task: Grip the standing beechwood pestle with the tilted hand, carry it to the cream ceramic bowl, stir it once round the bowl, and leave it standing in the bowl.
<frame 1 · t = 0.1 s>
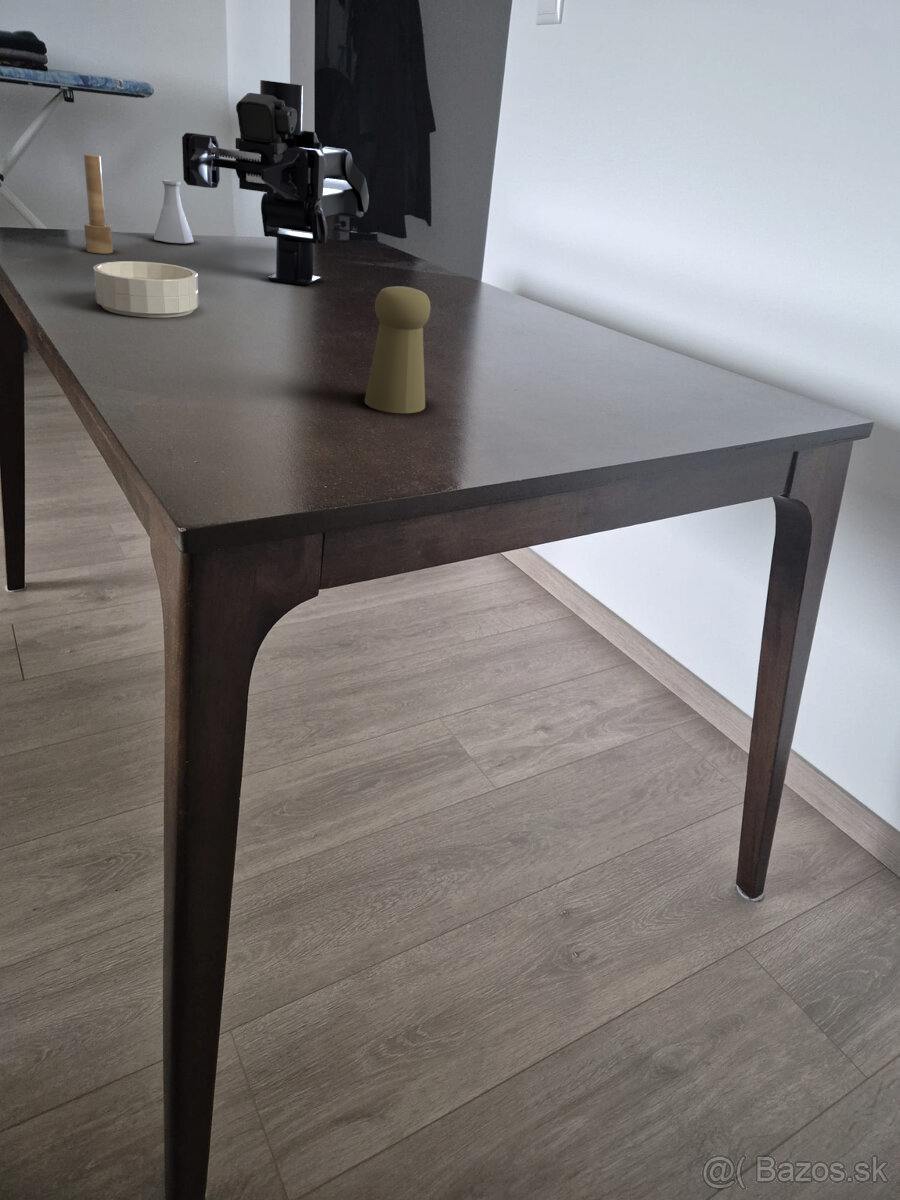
hand: (226, 169, 107), 17 cm above the table, tool horizontal, fingers open, 9 cm apart
cork: (394, 405, 86), on the table
pestle: (99, 251, 141), on the table
flask: (174, 242, 158), on the table
bowl: (148, 307, 110), on the table
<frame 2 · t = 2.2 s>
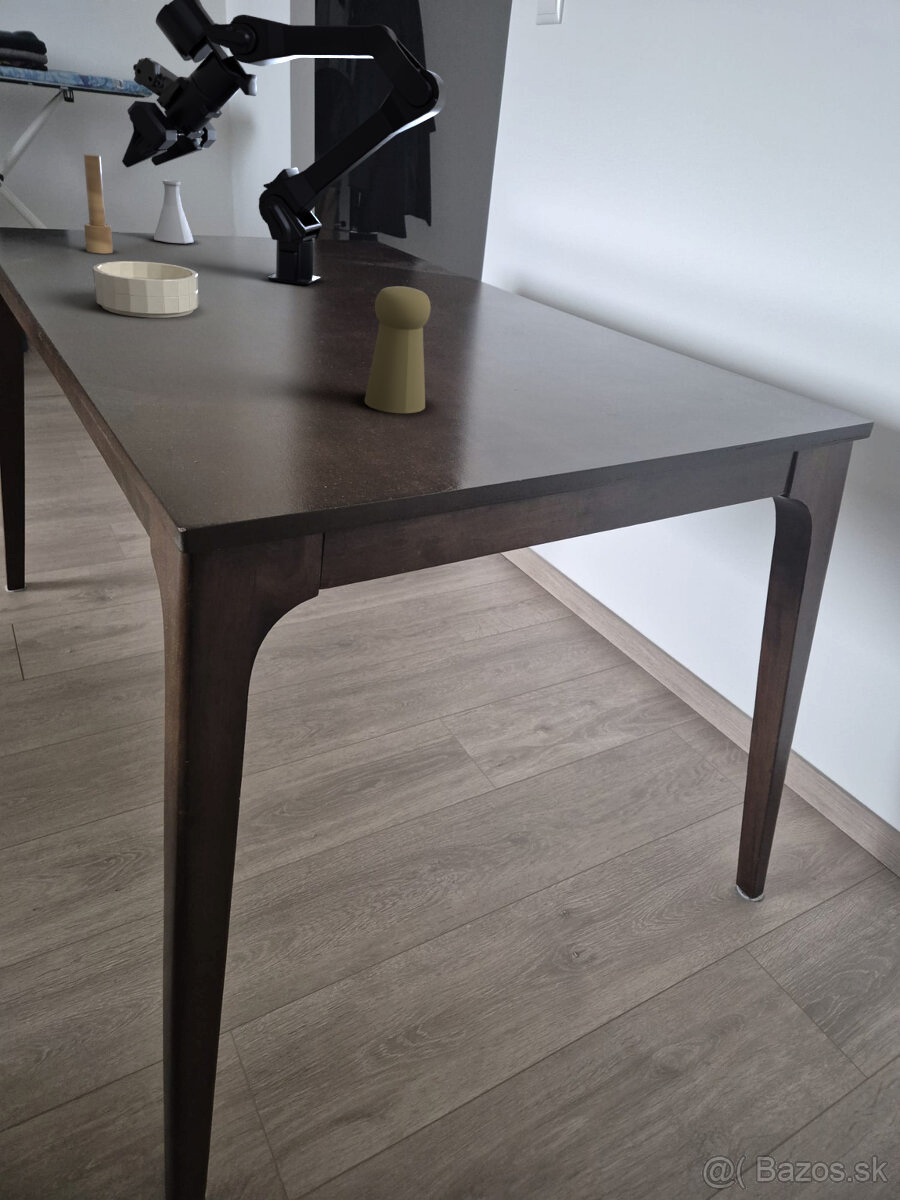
hand: (139, 163, 133), 14 cm above the table, tool tilted 45°, fingers open, 9 cm apart
nothing on the table moved.
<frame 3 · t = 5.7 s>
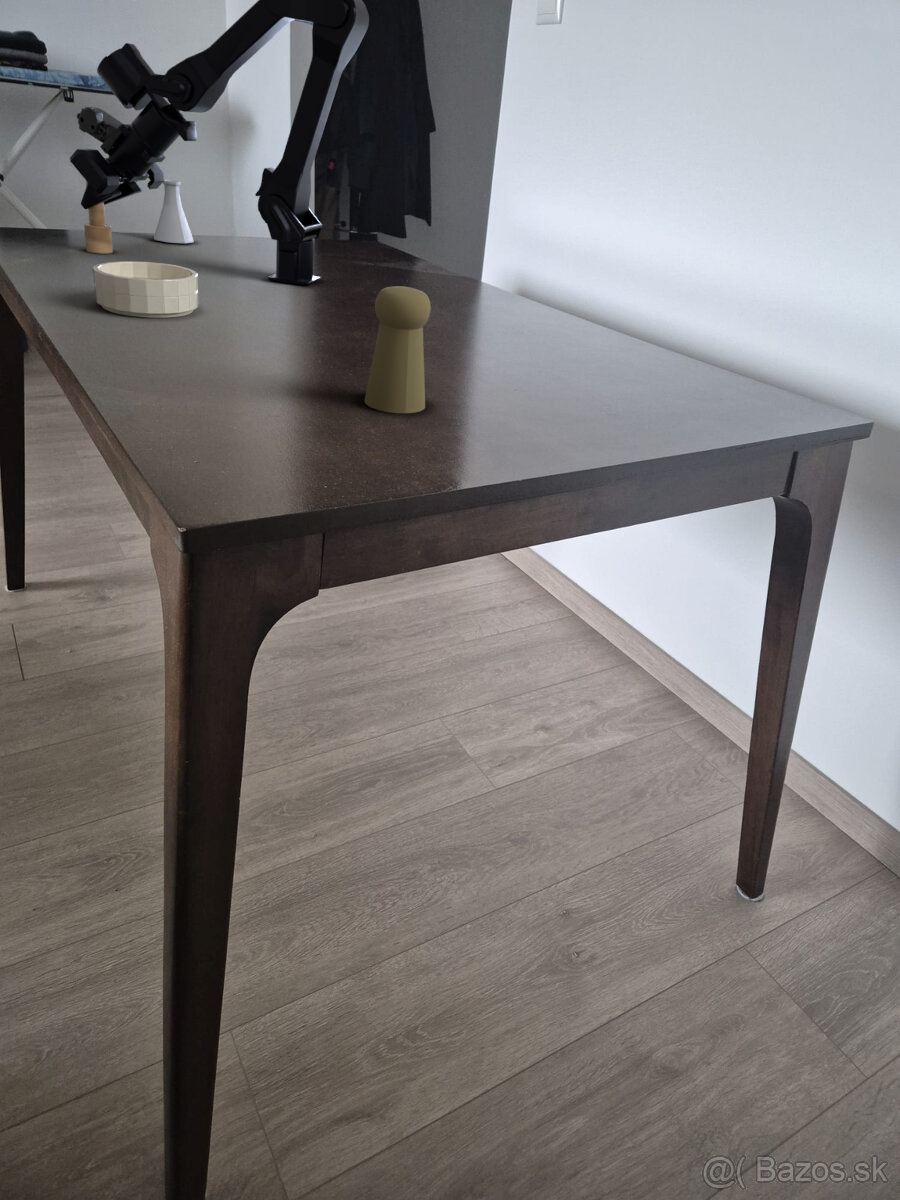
hand: (88, 206, 138), 7 cm above the table, tool tilted 45°, fingers closed on pestle, 2 cm apart
pestle: (99, 251, 141), on the table, touching gripper
everything else where it was.
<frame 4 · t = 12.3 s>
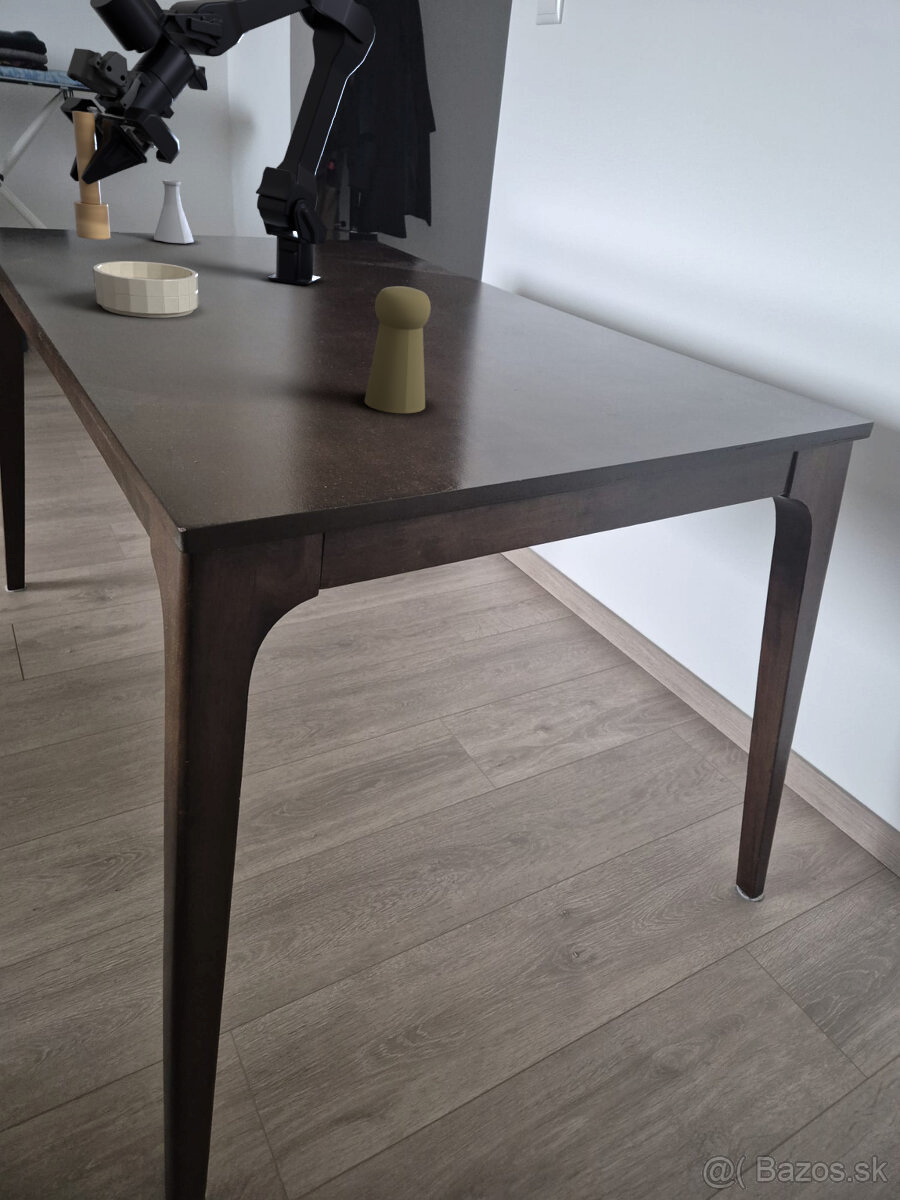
hand: (78, 179, 107), 13 cm above the table, tool tilted 45°, fingers closed on pestle, 2 cm apart
pestle: (93, 236, 111), point 7 cm above the table, touching gripper
everything else where it was.
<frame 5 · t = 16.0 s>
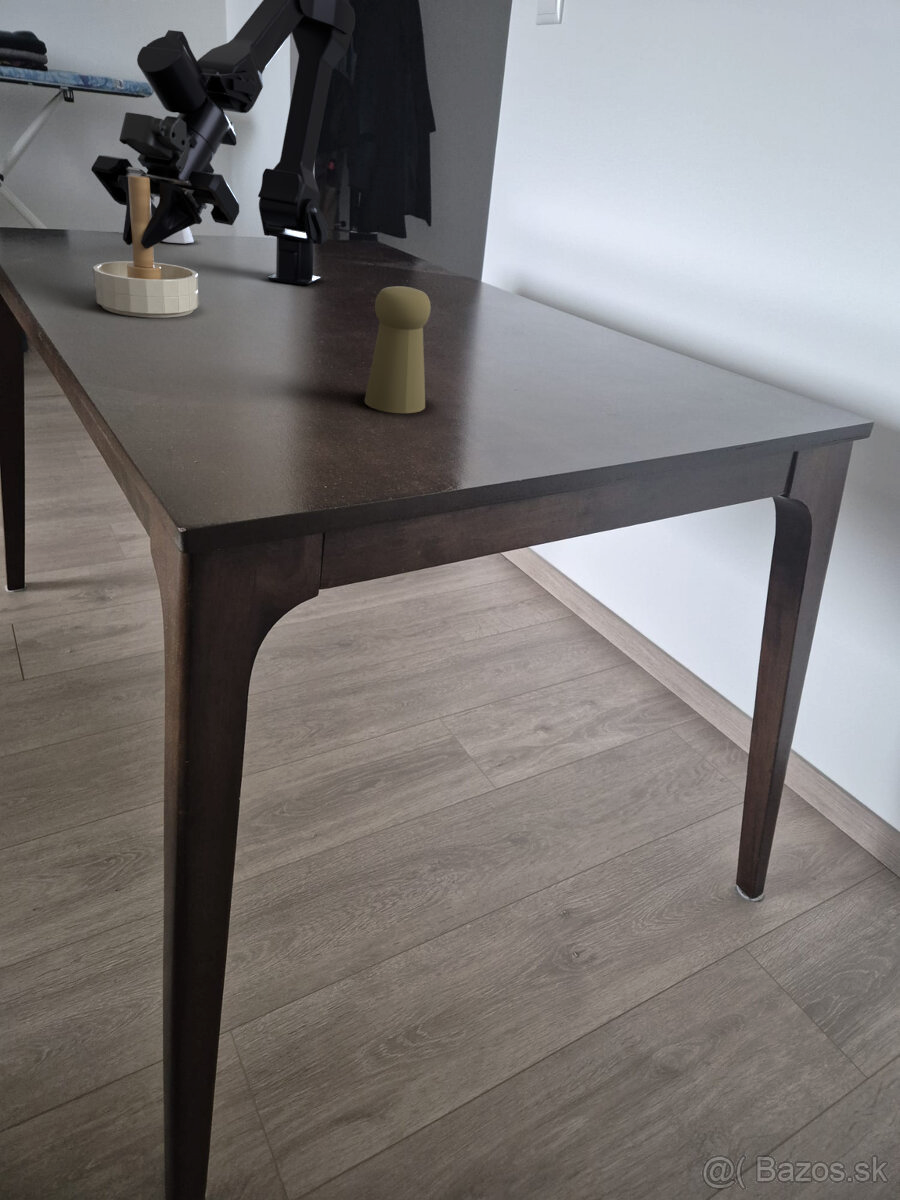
hand: (134, 244, 105), 8 cm above the table, tool tilted 45°, fingers closed on pestle, 2 cm apart
pestle: (145, 299, 109), point 1 cm above the table, touching gripper
everything else where it was.
when the fingers open (7 cm above the table, at t = 18.8 s): pestle stays where it is, resting on bowl.
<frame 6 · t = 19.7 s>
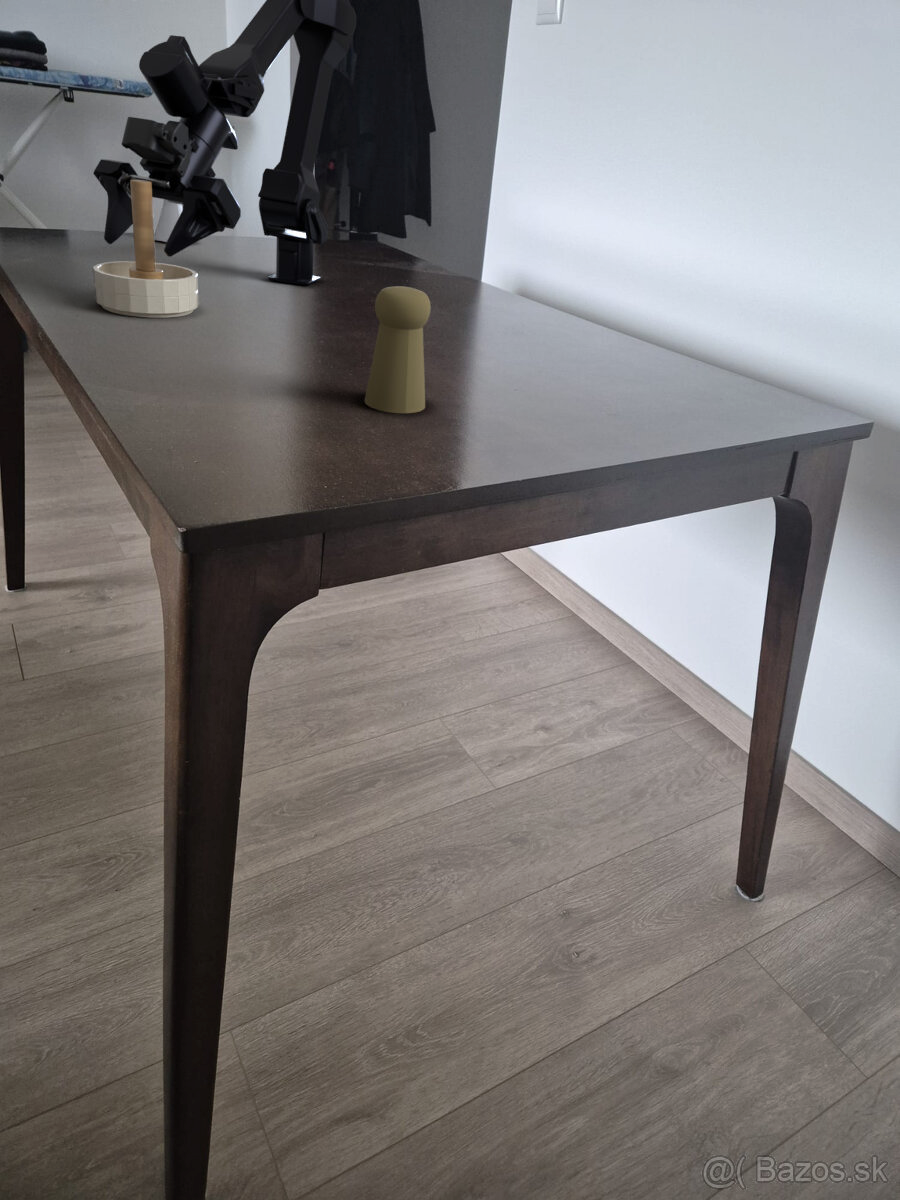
hand: (136, 247, 105), 7 cm above the table, tool tilted 45°, fingers open, 9 cm apart
pestle: (147, 302, 110), point 1 cm above the table, touching bowl
everything else where it was.
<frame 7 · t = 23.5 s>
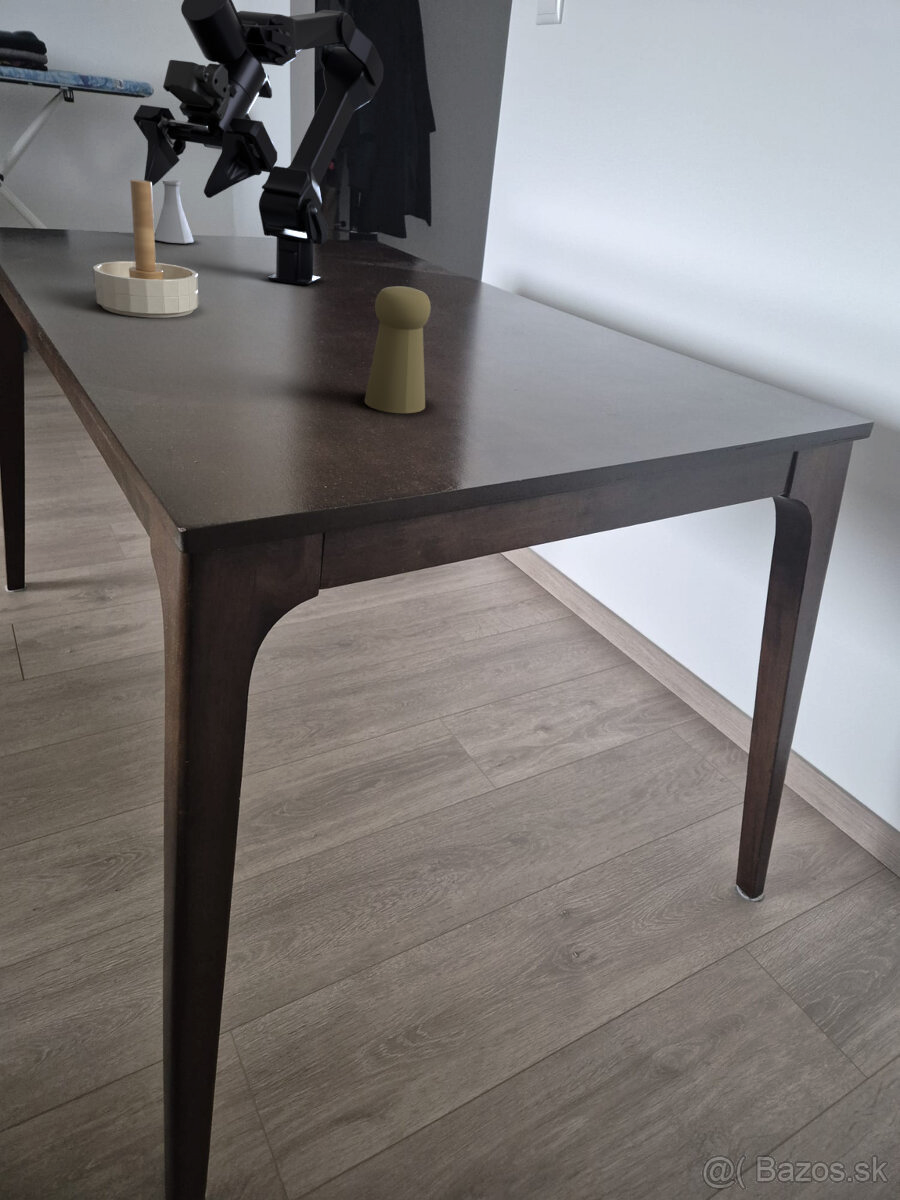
hand: (176, 189, 108), 14 cm above the table, tool tilted 45°, fingers open, 9 cm apart
nothing on the table moved.
at the end: pestle 0.0 cm off-centre in the bowl, point 0.6 cm above the bowl's base; pestle tilted 0°; the gripper is holding nothing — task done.
